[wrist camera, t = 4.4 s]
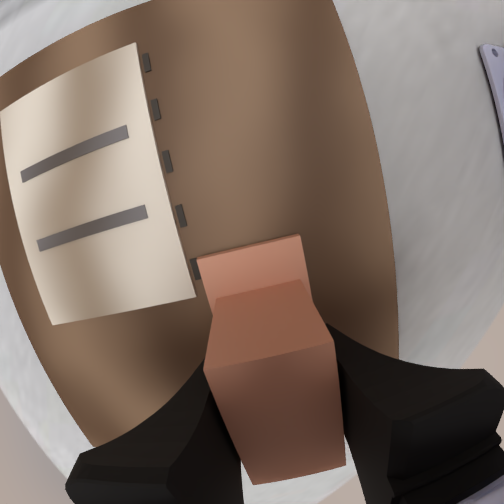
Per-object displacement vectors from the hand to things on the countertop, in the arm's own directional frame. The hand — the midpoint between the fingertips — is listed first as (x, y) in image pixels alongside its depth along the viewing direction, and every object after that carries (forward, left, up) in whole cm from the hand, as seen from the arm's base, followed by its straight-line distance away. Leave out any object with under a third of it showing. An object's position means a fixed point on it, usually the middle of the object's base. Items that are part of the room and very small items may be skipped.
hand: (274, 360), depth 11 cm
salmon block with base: (0, 0, -1) cm, 1 cm away
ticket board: (+3, -5, -3) cm, 6 cm away
